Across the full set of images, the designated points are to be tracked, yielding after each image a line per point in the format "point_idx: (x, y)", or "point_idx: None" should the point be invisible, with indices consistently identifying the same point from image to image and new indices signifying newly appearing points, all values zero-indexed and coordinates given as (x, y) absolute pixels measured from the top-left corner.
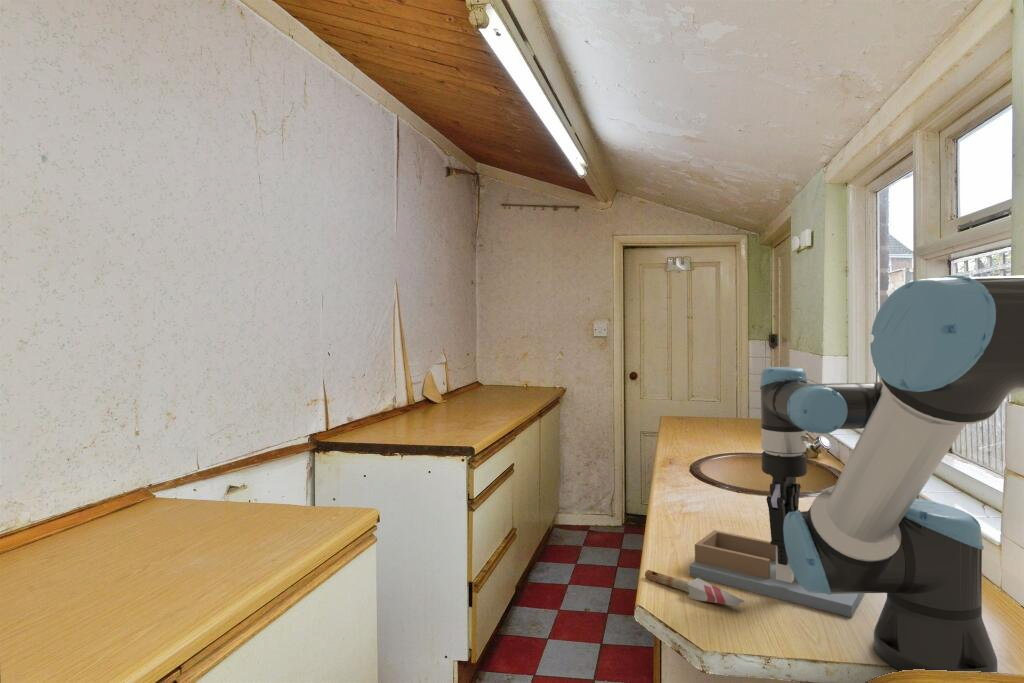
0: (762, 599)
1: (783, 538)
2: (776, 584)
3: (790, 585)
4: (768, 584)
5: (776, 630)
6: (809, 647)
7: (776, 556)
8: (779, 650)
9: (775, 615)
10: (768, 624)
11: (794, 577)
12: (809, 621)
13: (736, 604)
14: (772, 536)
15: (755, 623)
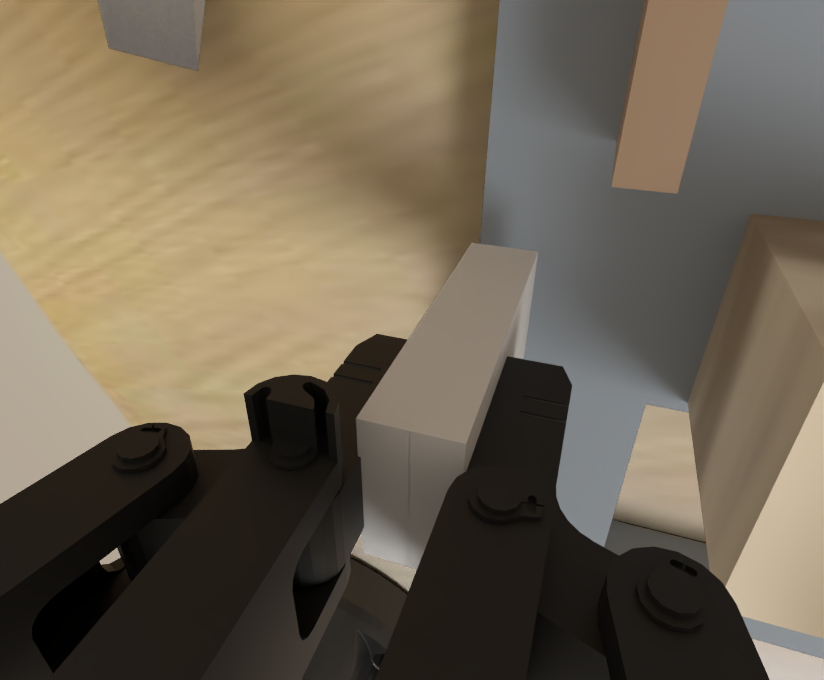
0: (427, 124)
1: (63, 615)
2: (530, 218)
3: (560, 306)
4: (500, 164)
5: (159, 257)
6: (142, 371)
7: (412, 341)
8: (49, 286)
9: (280, 232)
10: (179, 217)
11: (714, 327)
12: (326, 370)
13: (120, 36)
14: (7, 517)
15: (143, 161)
